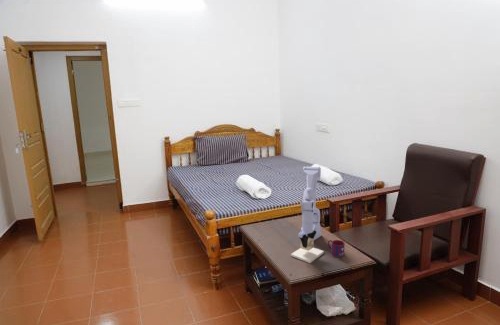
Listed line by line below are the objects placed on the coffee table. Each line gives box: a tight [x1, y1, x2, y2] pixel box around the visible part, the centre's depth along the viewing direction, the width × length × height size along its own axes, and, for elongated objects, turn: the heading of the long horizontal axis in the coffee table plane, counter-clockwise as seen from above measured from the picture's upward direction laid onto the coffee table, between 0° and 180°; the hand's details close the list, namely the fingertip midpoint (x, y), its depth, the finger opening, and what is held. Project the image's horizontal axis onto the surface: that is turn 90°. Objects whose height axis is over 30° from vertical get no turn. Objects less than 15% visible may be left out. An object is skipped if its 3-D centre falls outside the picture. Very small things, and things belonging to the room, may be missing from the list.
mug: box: [327, 239, 346, 258], centre depth 184 cm, size 7×10×7 cm
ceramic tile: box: [290, 247, 325, 264], centre depth 184 cm, size 14×12×1 cm
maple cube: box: [300, 238, 315, 251], centre depth 183 cm, size 5×5×5 cm
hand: (307, 245), depth 183 cm, fingers closed on maple cube, 5 cm apart
